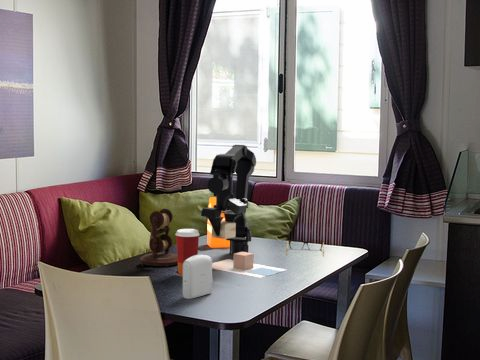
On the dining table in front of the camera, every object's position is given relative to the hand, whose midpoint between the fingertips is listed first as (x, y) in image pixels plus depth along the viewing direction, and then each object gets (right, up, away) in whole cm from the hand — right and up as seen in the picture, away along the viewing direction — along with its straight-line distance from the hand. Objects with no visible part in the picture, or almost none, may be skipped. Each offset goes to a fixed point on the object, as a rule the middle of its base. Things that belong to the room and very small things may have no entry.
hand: (223, 234), depth 266 cm
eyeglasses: (+31, -10, +30) cm, 45 cm away
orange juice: (-3, -8, +41) cm, 41 cm away
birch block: (0, -1, 0) cm, 1 cm away
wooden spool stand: (-22, -11, +2) cm, 25 cm away
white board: (+7, -12, -4) cm, 15 cm away
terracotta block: (+7, -11, -4) cm, 14 cm away
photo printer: (-7, -16, -39) cm, 42 cm away
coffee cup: (-12, -13, -11) cm, 21 cm away
